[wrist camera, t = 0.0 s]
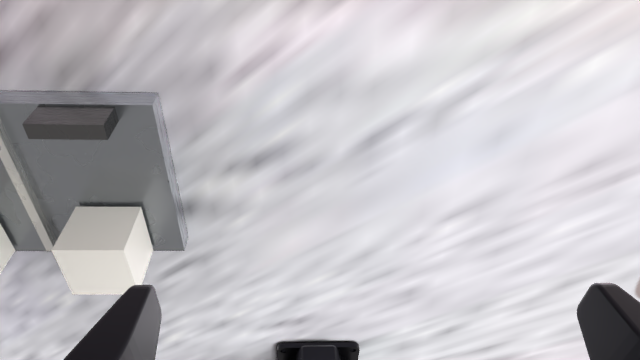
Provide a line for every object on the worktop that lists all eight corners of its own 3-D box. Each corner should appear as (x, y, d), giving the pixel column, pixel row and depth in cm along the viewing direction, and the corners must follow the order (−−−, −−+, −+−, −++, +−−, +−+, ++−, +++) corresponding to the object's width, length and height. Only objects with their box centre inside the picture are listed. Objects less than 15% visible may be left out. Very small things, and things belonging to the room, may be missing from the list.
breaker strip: (188, 236, 29) (179, 271, 27) (-61, 236, 28) (-91, 272, 26) (158, 92, 23) (143, 123, 20) (-163, 88, 22) (-214, 119, 20)
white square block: (153, 250, 28) (138, 294, 25) (93, 250, 27) (72, 294, 25) (141, 206, 25) (123, 250, 23) (75, 206, 25) (51, 250, 23)
